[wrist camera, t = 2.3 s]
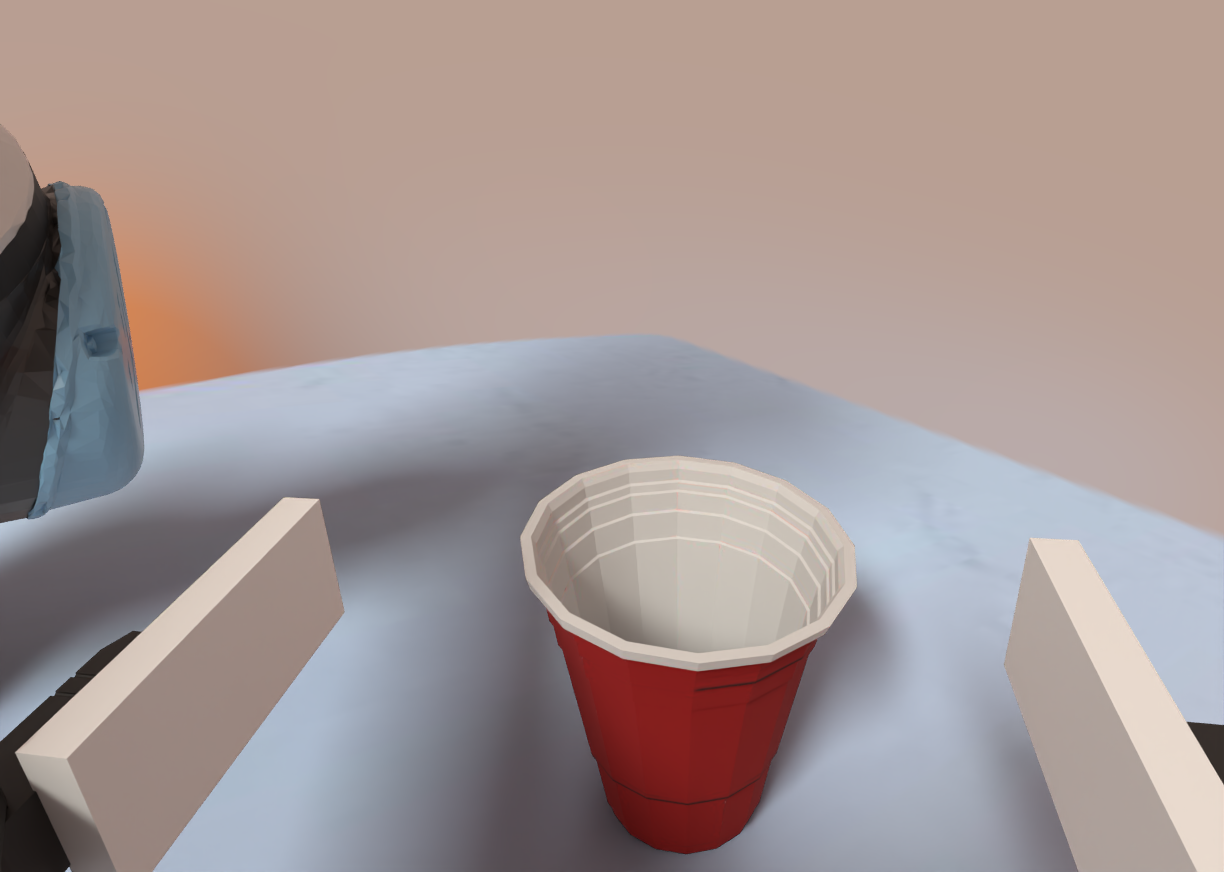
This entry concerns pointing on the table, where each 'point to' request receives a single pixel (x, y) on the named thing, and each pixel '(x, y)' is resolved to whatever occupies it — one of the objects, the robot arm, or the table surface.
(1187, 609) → the table surface
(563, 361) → the table surface
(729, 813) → the plastic cup
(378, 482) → the table surface
